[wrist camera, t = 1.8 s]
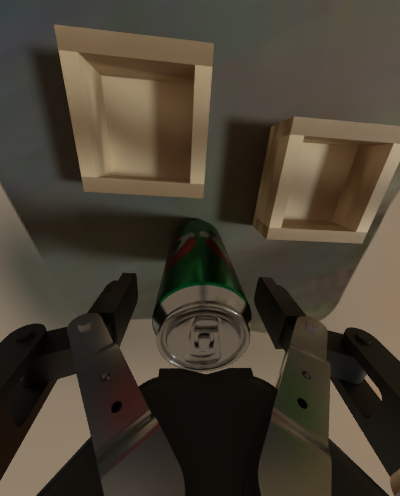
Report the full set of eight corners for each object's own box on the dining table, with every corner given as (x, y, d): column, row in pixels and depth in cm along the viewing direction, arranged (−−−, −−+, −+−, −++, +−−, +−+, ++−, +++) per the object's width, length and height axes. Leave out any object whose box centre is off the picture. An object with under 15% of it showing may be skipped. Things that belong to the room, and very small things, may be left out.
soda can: (171, 262, 20) (149, 377, 9) (171, 216, 18) (144, 296, 7) (217, 264, 21) (248, 376, 10) (222, 219, 19) (270, 299, 8)
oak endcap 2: (270, 127, 15) (294, 116, 12) (366, 135, 16) (414, 127, 13) (252, 225, 19) (266, 239, 15) (331, 229, 20) (362, 243, 16)
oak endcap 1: (89, 60, 13) (53, 24, 10) (208, 73, 14) (213, 43, 10) (106, 185, 17) (84, 191, 13) (200, 191, 17) (203, 198, 14)
